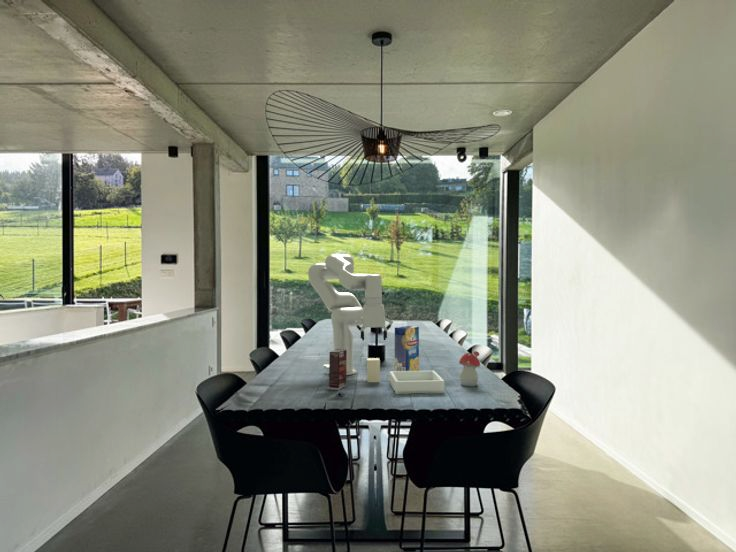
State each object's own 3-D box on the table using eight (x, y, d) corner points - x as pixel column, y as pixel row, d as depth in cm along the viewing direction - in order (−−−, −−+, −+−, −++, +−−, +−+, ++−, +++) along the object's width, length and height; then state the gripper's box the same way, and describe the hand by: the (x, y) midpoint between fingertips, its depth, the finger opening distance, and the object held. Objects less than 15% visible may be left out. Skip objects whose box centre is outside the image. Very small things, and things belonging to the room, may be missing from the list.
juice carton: (367, 382, 240) (367, 360, 240) (366, 380, 245) (366, 358, 245) (380, 382, 240) (380, 360, 240) (378, 380, 246) (378, 358, 246)
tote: (395, 394, 218) (395, 381, 218) (389, 382, 240) (389, 371, 240) (444, 393, 220) (444, 380, 220) (434, 381, 242) (434, 370, 242)
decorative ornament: (482, 385, 233) (482, 351, 233) (473, 388, 229) (473, 352, 229) (465, 382, 240) (465, 348, 240) (456, 384, 236) (456, 350, 236)
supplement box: (339, 390, 225) (339, 352, 225) (328, 389, 227) (328, 351, 226) (347, 386, 233) (347, 349, 233) (336, 385, 235) (336, 348, 234)
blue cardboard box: (418, 371, 266) (418, 326, 266) (406, 374, 258) (406, 328, 257) (407, 369, 270) (407, 325, 270) (394, 373, 262) (394, 327, 261)
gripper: (354, 302, 238) (354, 341, 238) (393, 301, 239) (394, 340, 239) (353, 301, 245) (354, 339, 245) (391, 301, 246) (392, 338, 247)
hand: (373, 339), depth 242 cm, fingers open, 9 cm apart
